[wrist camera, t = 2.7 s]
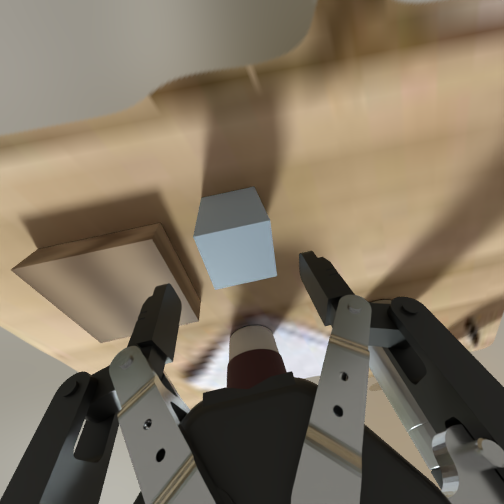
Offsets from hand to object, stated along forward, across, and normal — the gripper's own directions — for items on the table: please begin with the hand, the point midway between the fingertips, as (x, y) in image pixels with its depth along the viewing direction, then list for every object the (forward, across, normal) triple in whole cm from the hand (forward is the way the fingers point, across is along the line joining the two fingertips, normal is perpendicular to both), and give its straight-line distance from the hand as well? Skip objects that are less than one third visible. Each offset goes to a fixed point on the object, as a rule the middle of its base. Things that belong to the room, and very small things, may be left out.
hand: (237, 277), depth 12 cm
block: (+9, 0, 0) cm, 9 cm away
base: (+9, +13, +5) cm, 16 cm away
